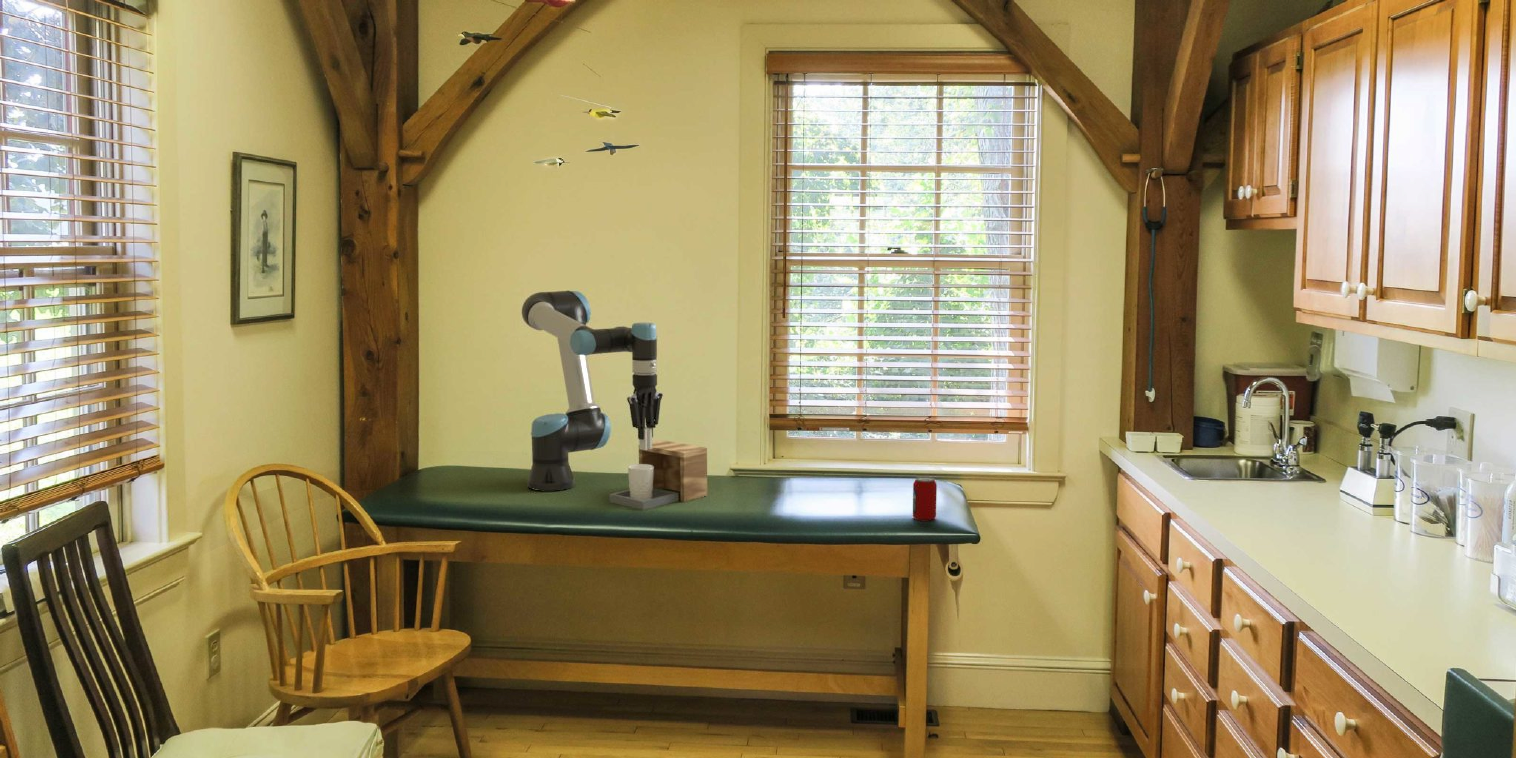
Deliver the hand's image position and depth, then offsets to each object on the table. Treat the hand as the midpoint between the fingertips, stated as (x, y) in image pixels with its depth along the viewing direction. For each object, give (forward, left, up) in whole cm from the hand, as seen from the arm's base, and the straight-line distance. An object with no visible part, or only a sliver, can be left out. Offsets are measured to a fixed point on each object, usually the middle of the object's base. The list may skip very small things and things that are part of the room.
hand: (645, 448), depth 357 cm
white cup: (-1, -2, -16) cm, 16 cm away
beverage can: (+78, +37, -17) cm, 88 cm away
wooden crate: (0, +12, -16) cm, 20 cm away
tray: (0, -1, -16) cm, 16 cm away
